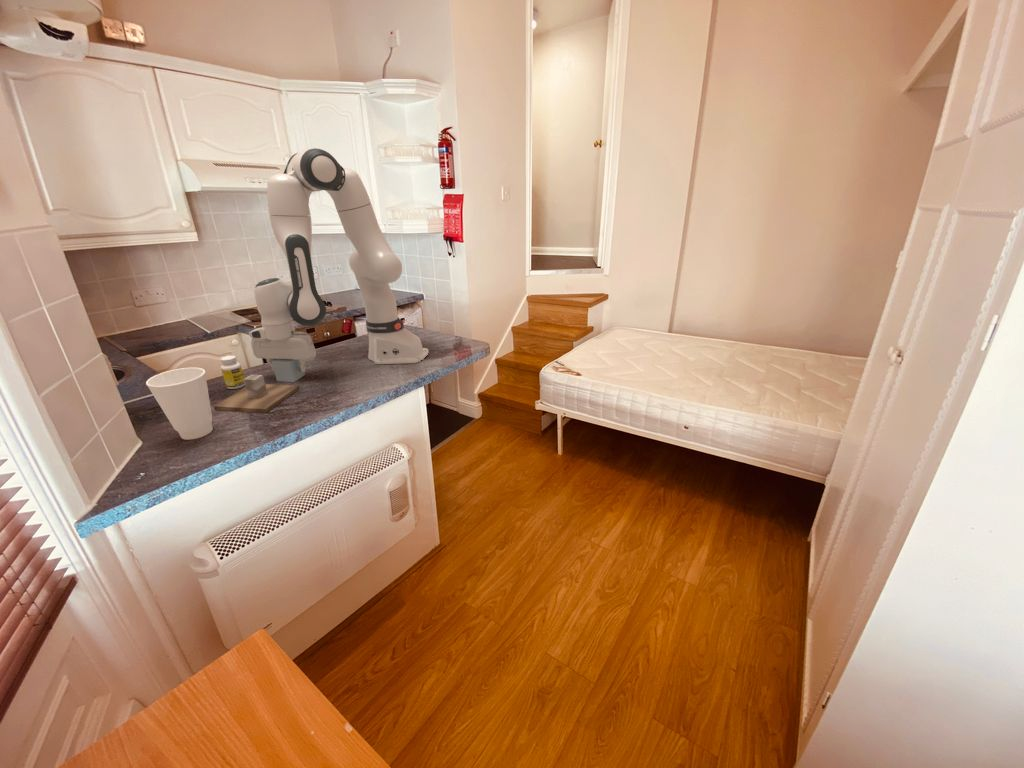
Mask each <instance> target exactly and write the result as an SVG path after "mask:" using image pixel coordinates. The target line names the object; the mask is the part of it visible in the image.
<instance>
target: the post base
mask: <svg viewBox="0 0 1024 768" xmlns="http://www.w3.org/2000/svg"><path fill="white" fill-rule="evenodd" d="M244 378H245V379H243V381H244V384H245V385H244V388H242V389H241V390H239V391H237V392H235V393H234V394H232V395H230V396H229V397H227V398H225V399H224V400H222V401H221V402H218V403H217V404H216V405H214V406H213V408H214V410H215V411H223V412H224V411H225V412H242V413H245V412H246V413H257V414H258V413H259V414H260V413H261V414H267V413H268V412H269V411H271V410H272V409H274V408H275V407H277V405H279V404H280V403H282V402H284V401H285V400H287V399H288V398H289V397H291V396H292V395H293V394H295V393H296V392H298V391H299V390H300V387H299V386H300V385H289V384H272V383H266V382H265V379H264V375H263V374H250V375H248V376H247V377H244Z"/></svg>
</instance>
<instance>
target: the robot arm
mask: <svg viewBox="0 0 1024 768" xmlns="http://www.w3.org/2000/svg"><path fill="white" fill-rule="evenodd" d="M283 171H284V172H283V173H277V174H273V175H272V176H271V177H269V179H268V180H267V184H266V185H267V187H266V188H267V189H266V192H267V193H266V194H267V196H266V197H267V208H268V214H269V221H270V224H271V228H272V232H273V234H274V236H275V239H276V241H277V243H278V244H279V247H280V248H281V250H282V252H283V254H284V255H285V258H286V262H287V264H288V269H289V275H290V280H291V283H290V282H287V281H284V280H282V279H281V278H277V277H271V278H267V279H263V280H261V281H259V282H258V283H257V284H256V285H255V287H254V300H255V304H256V308H257V311H258V313H259V314H260V319H261V320H260V321H261V326H259V327H258V328H255V329H253V330H251V331H249V332H248V335H249V337H250V338H251V339H250V346H251V349H252V353H253V355H254V357H255V358H257V359H265V360H266V363H268V365H269V366H271V370H272V371H273V372H274V368H273V365H272V361H274V360H275V359H291V360H299V362H300V363H301V366H299V367H298V369H299V372H305V371H306V370H307V369H306V364H307V362H308V361H311V360H313V359H315V357H316V356H317V351H316V347H315V345H314V342H313V339H312V336H311V334H309V333H308V332H306V331H300V330H299V331H298V330H296V329H295V325H294V322H296V323H297V324H299V325H301V326H304V327H305V326H308V327H309V326H310V327H312V326H315V325H317V324H320V323H321V322H322V321H323V320H324V319H325V316H326V313H327V309H326V304H325V302H324V299H323V298H322V297H321V296H320V294H319V292H318V290H317V287H316V282H315V281H316V280H315V275H314V270H313V269H314V268H313V263H312V239H313V238H312V237H313V235H312V233H313V230H312V217H311V210H310V206H309V204H310V196H311V194H312V193H313V192H322V191H325V192H326V193H327V194H329V196H330V198H331V200H332V201H333V204H334V207H335V209H336V212H337V214H338V218H339V220H340V223H341V226H342V228H343V231H344V233H345V236H346V237H347V238H348V240H349V241H350V242H351V244H352V245H353V247H354V248H355V250H353V251H352V252H351V253H350V254H349V255H350V256H349V259H348V265H349V267H350V269H351V271H352V272H353V274H354V277H355V281H356V282H357V285H358V287H359V288H358V289H359V290H360V294H361V297H362V301H363V306H364V310H365V311H364V312H365V316H366V320H365V325H366V326H365V327H366V332H367V336H368V354H367V358H368V360H369V361H372V362H373V363H374V364H375V365H393V364H394V365H395V364H398V365H399V364H416V363H420V362H422V361H423V360H425V359H426V358H427V357H428V356H429V354H430V351H429V348H427V347H426V348H425V347H423V345H422V341H421V339H420V337H419V336H418V335H416V334H414V333H413V332H411V331H410V330H408V329H407V328H405V325H404V324H405V323H406V322H405V319H403V320H402V319H401V318H400V317H399V315H398V309H397V301H396V296H395V294H394V293H393V291H392V289H391V286H390V284H392V283H395V282H397V281H398V280H399V279H400V277H401V276H402V273H403V264H402V262H401V260H400V258H399V257H398V256H397V255H396V254H395V252H394V251H393V250H392V248H391V246H390V244H389V243H388V240H387V239H386V237H385V236H384V233H383V232H382V229H381V227H380V225H379V223H378V219H377V216H376V214H375V211H374V207H373V205H372V201H371V200H370V196H369V194H368V191H367V189H366V186H365V185H364V182H363V180H362V179H361V177H360V176H359V174H358V173H357V172H356V170H354V169H352V168H351V169H350V168H346V167H345V168H344V167H343V166H342V165H341V164H340V163H339V162H338V160H336V158H335V157H334V156H333V155H332V154H331V153H330V152H328V151H326V150H324V149H321V148H315V147H314V148H306V149H301V150H300V151H299V152H296V153H294V154H292V156H291V157H290V158H288V161H287V164H286V166H285V169H284V170H283ZM428 353H429V354H428ZM427 355H428V356H427ZM426 356H427V357H426ZM425 357H426V358H425ZM424 358H425V359H424ZM421 360H422V361H421Z"/></svg>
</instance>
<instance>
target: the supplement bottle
mask: <svg viewBox="0 0 1024 768" xmlns="http://www.w3.org/2000/svg"><path fill="white" fill-rule="evenodd" d="M220 361H221V363H222V365H221V366H220V370H221V373H222V376H223V377H222V378H223V380H224V383H225V387H226V388H227V389H228V390H236V389H239V388H243V387H245V384H244V381H243V379H245V378H246V377H245V375H244V371H243V369H242V365H241V363H240V362H239V361H238V360H237V357H236V356H235V355H226V356H223V357H221V358H220Z"/></svg>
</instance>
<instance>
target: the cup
mask: <svg viewBox="0 0 1024 768" xmlns="http://www.w3.org/2000/svg"><path fill="white" fill-rule="evenodd" d="M145 386H146V387H148V389H149V391H150V392H151V394H152V395H153V397H154V399H155V400H156V401H157V403H158V405H159V407H160V408H161V410H162V411H163V413H164V415H165V416H166V418H167V419H168V421H169V423H170V424H171V426H172V427H173V430H175V431H176V432H178V434H179V437H180V439H183V440H188V441H189V440H195V439H200V438H202V437H204V436H207V435H209V434H210V433H211V432H212V431H213V429H214V428H213V424H212V423H213V414H212V408H211V401H210V397H209V395H210V394H209V388H208V382H207V376H206V370H205V369H204V368H201V367H191V366H190V367H182V368H176V369H172V370H167V371H164V372H161V373H158V374H155V375H153V376H151V377H150V378H148V379H147V380H146V382H145Z"/></svg>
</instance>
